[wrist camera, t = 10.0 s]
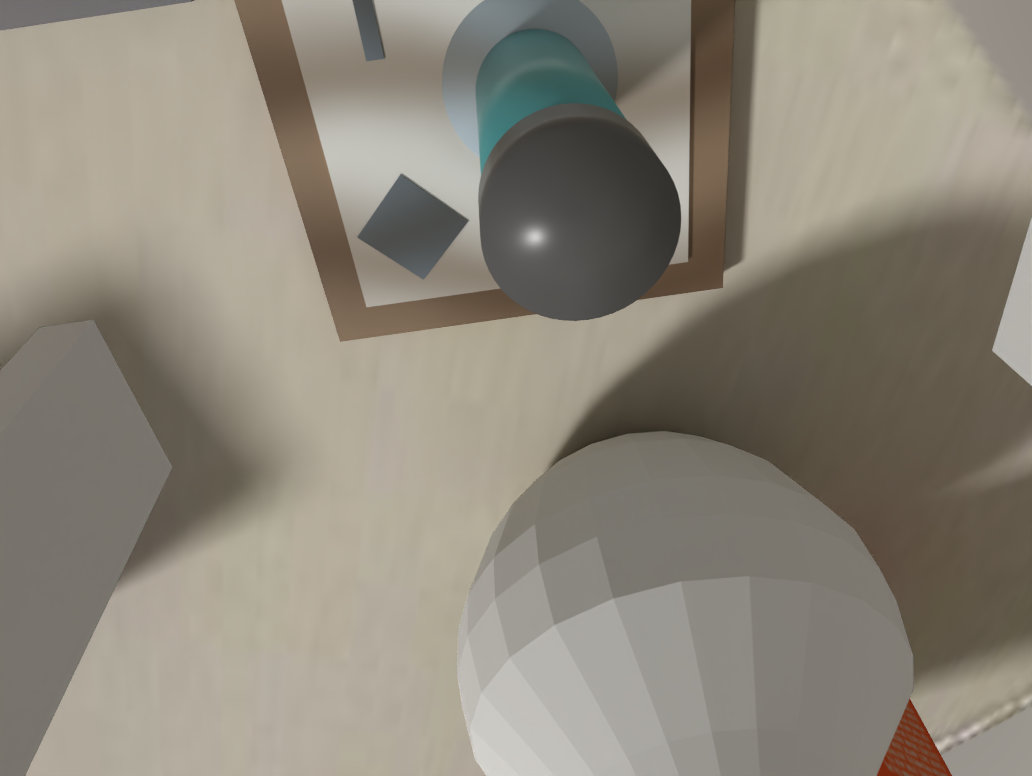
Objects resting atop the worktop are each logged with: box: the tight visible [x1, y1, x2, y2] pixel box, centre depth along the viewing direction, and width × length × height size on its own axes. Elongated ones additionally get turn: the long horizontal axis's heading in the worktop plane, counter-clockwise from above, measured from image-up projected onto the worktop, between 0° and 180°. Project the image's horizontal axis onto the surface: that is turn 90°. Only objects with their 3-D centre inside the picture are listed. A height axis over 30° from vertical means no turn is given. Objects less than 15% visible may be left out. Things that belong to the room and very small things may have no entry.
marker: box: [475, 29, 681, 321], centre depth 20 cm, size 4×4×12 cm
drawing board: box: [235, 0, 735, 342], centre depth 25 cm, size 18×16×1 cm
